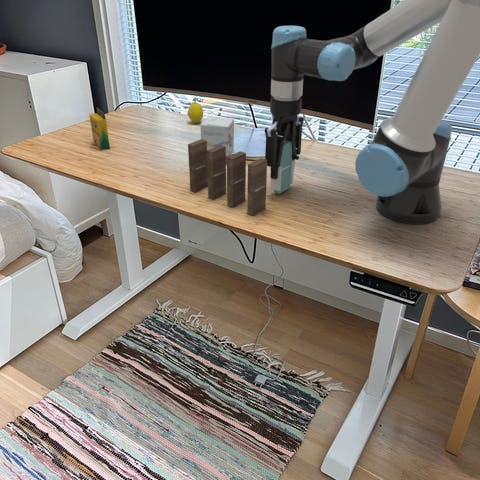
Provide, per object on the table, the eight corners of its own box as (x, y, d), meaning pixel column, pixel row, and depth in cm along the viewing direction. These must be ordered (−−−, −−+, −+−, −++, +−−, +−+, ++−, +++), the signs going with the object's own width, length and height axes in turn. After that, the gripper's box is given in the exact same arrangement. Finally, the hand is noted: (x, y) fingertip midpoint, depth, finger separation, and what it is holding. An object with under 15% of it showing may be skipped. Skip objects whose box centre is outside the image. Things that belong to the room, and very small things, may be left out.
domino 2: (226, 193, 128) (225, 146, 121) (213, 200, 124) (212, 152, 118) (221, 191, 129) (220, 144, 122) (208, 198, 125) (206, 150, 119)
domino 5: (290, 187, 130) (292, 141, 123) (279, 194, 126) (281, 146, 120) (284, 185, 131) (286, 139, 124) (273, 192, 128) (275, 144, 121)
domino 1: (208, 186, 131) (206, 140, 124) (195, 192, 128) (193, 146, 121) (203, 184, 132) (201, 138, 125) (190, 190, 129) (187, 144, 122)
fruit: (190, 126, 173) (189, 104, 169) (186, 121, 177) (185, 99, 173) (205, 125, 174) (204, 102, 170) (201, 120, 179) (200, 98, 175)
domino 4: (265, 208, 121) (267, 159, 114) (253, 216, 117) (254, 166, 110) (259, 206, 122) (261, 157, 115) (247, 213, 118) (247, 164, 112)
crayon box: (93, 143, 158) (87, 108, 152) (102, 142, 159) (97, 106, 153) (101, 150, 153) (95, 114, 147) (110, 148, 154) (105, 112, 148)
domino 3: (245, 201, 124) (246, 153, 117) (232, 208, 121) (232, 159, 114) (239, 198, 125) (240, 151, 118) (227, 205, 122) (226, 157, 115)
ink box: (228, 164, 144) (228, 126, 138) (200, 162, 145) (199, 123, 139) (234, 154, 151) (234, 116, 145) (208, 152, 153) (206, 114, 146)
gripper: (294, 86, 124) (290, 171, 136) (250, 102, 112) (249, 193, 124) (319, 91, 120) (312, 178, 132) (276, 108, 108) (273, 201, 120)
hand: (282, 185), depth 128 cm, fingers closed on domino 5, 5 cm apart
